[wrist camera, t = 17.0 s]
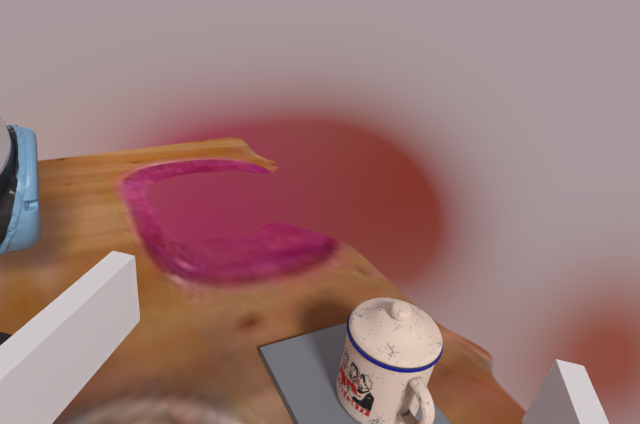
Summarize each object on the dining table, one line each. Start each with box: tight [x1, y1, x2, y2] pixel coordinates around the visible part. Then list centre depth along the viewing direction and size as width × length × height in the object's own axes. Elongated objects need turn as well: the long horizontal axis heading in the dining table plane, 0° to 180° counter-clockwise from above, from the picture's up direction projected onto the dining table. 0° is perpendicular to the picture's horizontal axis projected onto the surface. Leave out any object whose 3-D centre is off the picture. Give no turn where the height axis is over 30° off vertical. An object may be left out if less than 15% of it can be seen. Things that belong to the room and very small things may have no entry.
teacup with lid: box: [336, 298, 443, 424], centre depth 41 cm, size 12×9×12 cm
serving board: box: [259, 322, 451, 424], centre depth 44 cm, size 20×14×1 cm
